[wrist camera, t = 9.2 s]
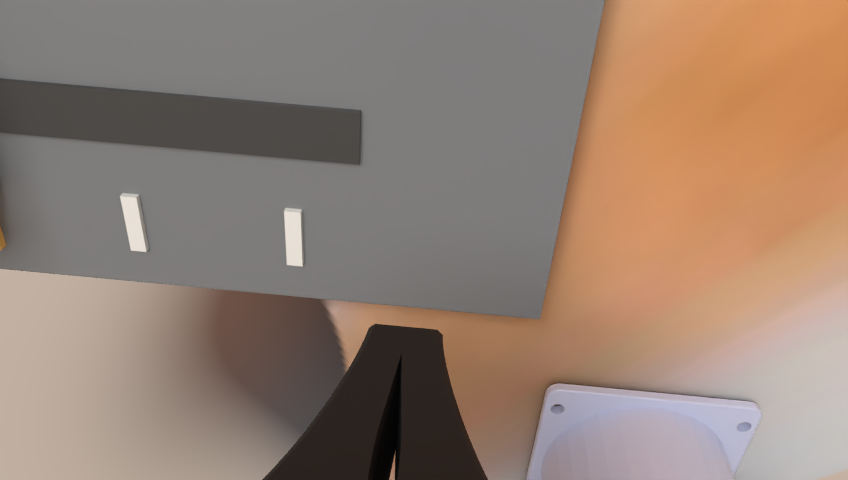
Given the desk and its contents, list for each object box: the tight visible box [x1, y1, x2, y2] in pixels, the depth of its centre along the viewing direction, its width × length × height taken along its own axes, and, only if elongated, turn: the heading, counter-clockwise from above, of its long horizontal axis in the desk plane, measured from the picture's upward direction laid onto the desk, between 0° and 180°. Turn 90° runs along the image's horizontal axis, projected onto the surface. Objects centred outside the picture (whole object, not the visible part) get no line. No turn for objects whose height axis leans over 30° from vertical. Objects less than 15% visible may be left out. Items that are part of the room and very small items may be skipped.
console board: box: [0, 0, 605, 319], centre depth 21 cm, size 12×28×2 cm, turn 86°
